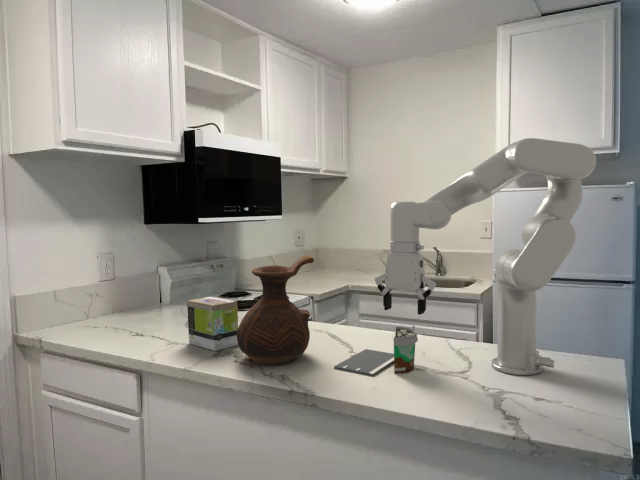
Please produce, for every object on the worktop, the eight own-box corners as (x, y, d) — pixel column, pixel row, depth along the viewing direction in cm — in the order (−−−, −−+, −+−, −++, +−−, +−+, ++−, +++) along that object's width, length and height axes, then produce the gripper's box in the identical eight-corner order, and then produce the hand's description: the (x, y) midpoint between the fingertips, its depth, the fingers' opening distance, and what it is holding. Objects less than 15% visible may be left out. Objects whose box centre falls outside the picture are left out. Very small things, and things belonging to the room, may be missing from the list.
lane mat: (402, 357, 141) (402, 354, 141) (372, 376, 126) (372, 373, 126) (365, 350, 147) (365, 348, 147) (334, 368, 133) (334, 366, 133)
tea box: (240, 344, 158) (238, 300, 157) (214, 352, 150) (212, 305, 149) (213, 337, 168) (211, 295, 167) (187, 343, 161) (185, 299, 159)
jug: (285, 375, 128) (281, 263, 126) (222, 364, 139) (218, 260, 137) (324, 352, 147) (322, 254, 145) (266, 343, 158) (263, 252, 156)
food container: (418, 376, 125) (417, 338, 124) (394, 375, 126) (393, 338, 125) (418, 361, 137) (417, 326, 136) (396, 360, 138) (395, 326, 137)
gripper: (441, 248, 127) (440, 312, 128) (381, 245, 137) (381, 305, 138) (430, 250, 121) (429, 318, 122) (369, 247, 131) (369, 310, 132)
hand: (404, 311), depth 130 cm, fingers open, 9 cm apart
